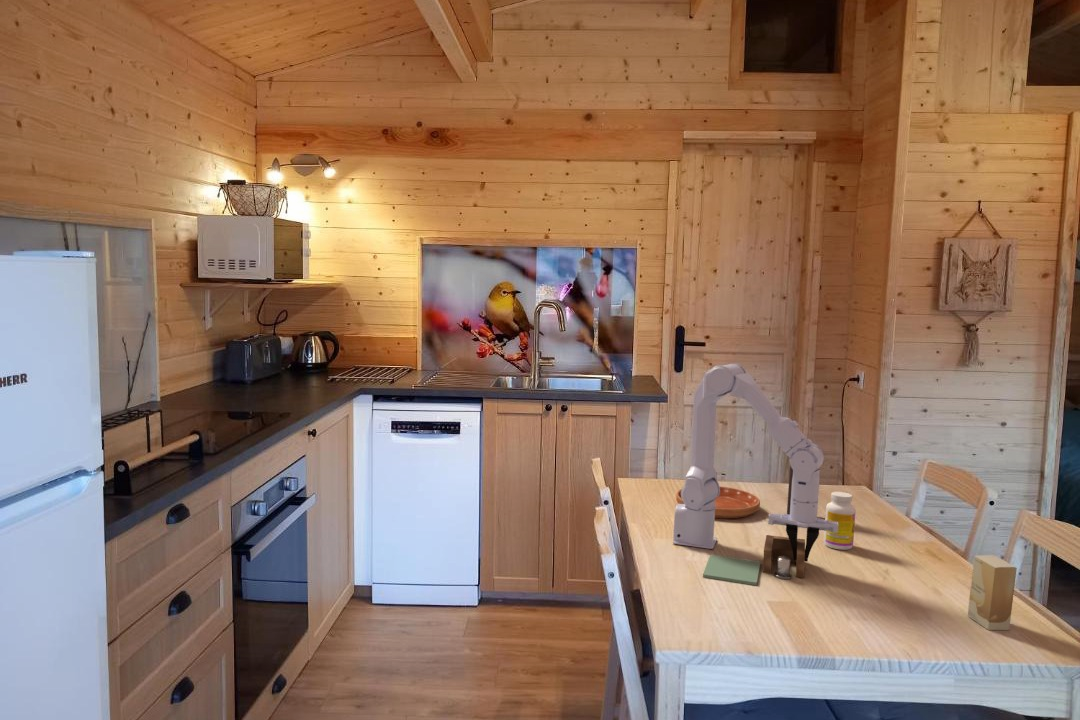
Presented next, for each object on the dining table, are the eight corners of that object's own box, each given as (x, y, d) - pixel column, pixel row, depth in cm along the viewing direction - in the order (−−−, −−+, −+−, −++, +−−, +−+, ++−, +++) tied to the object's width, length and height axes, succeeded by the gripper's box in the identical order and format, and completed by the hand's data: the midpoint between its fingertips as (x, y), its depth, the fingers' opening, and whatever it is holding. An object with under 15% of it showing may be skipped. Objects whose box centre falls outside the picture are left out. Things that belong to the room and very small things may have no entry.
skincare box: (966, 616, 143) (971, 554, 142) (987, 615, 144) (993, 554, 142) (989, 631, 137) (995, 566, 136) (1011, 631, 137) (1017, 566, 136)
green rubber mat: (702, 577, 159) (702, 574, 159) (710, 557, 171) (710, 554, 171) (756, 585, 155) (756, 582, 155) (760, 564, 167) (760, 561, 167)
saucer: (759, 525, 196) (760, 512, 196) (671, 515, 203) (672, 502, 202) (759, 502, 218) (760, 490, 218) (680, 494, 225) (680, 482, 224)
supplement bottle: (855, 552, 177) (859, 499, 176) (826, 549, 179) (829, 496, 178) (849, 542, 184) (853, 491, 183) (821, 540, 185) (824, 489, 184)
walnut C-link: (762, 572, 163) (763, 549, 162) (765, 556, 173) (766, 534, 172) (803, 577, 160) (804, 554, 159) (804, 560, 170) (805, 539, 170)
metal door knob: (774, 578, 159) (775, 559, 159) (774, 572, 163) (776, 554, 162) (791, 580, 158) (792, 562, 158) (791, 574, 162) (792, 557, 161)
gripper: (769, 500, 164) (765, 560, 165) (840, 508, 159) (835, 570, 160) (770, 492, 171) (767, 550, 172) (839, 500, 166) (834, 559, 167)
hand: (800, 559), depth 167 cm, fingers closed on walnut C-link
